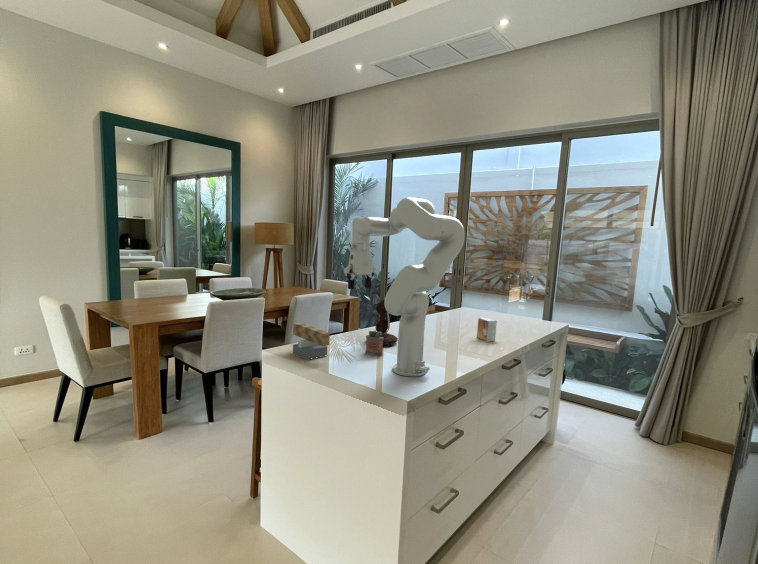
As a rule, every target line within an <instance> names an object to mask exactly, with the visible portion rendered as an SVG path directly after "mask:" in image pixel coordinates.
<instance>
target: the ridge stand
mask: <svg viewBox="0 0 758 564" xmlns="http://www.w3.org/2000/svg"><path fill="white" fill-rule="evenodd" d="M297 342H298V343H294V344H292V354H293V355H294V354H295V355H294V356H296V355H297V357H298V356H299V358H300V357H301V358H300V359H302V358H303V360H305V361H308V359H310V360H312V359H311V358H315V359H317V358H316V357H319V358H321V357H320V356H324V357H326V356H325V355H327V356H328V345H327V346H321V345H318V344H316V343H313V342H311V341H308V340H306V339H301V340H298V341H297Z"/></svg>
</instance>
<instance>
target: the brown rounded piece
mask: <svg viewBox="0 0 758 564" xmlns="http://www.w3.org/2000/svg"><path fill="white" fill-rule="evenodd" d="M384 302H385V299H383V300H381V301H380V302H378V303H377V304H376V308H375V309H376V313H378V314H379V319H378V322H377V323H376V324H375V331H376V332H377V331H378V332H382V335H379V337H383V338H384V339H383V345H389V347H392V345H393V344H396V343H398V336H396V335H394V334H392V333H388V332H389V330H390V326H391V324H390V323H391V322H390V313H388V312H387V310H386V308H385V303H384ZM386 318H387V319H386Z"/></svg>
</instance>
